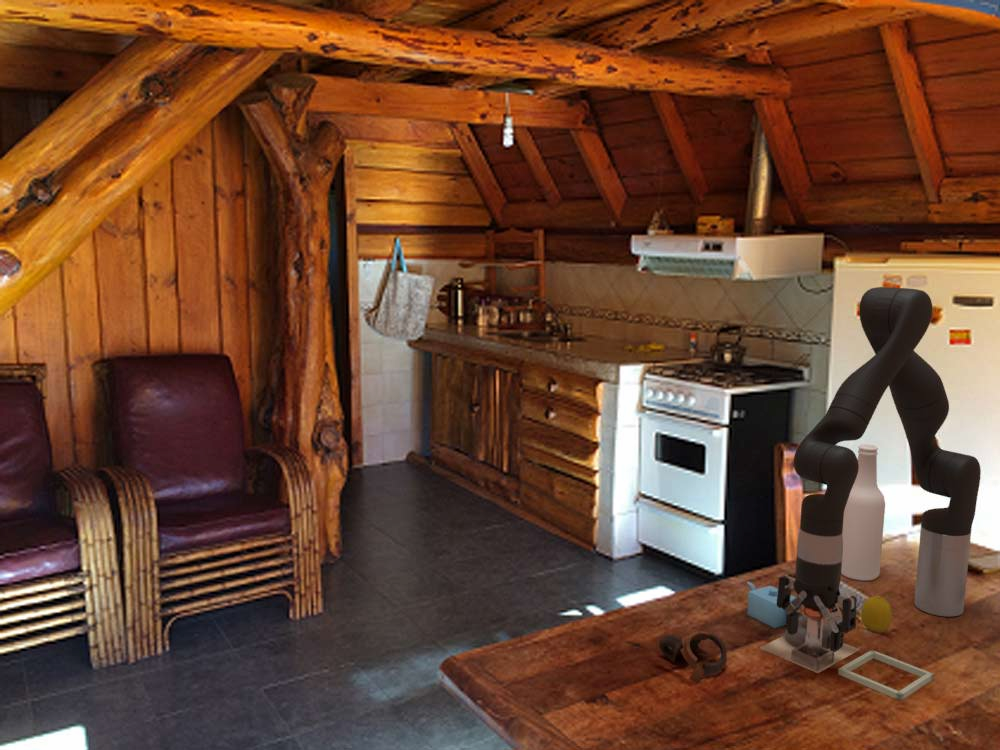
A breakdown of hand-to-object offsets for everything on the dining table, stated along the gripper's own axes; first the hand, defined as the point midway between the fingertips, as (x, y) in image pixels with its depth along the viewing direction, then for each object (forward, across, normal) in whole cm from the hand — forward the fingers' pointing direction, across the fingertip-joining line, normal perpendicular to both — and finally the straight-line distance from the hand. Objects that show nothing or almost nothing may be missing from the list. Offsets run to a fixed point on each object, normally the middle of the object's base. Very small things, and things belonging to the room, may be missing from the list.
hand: (813, 641), depth 159 cm
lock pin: (+4, 0, 0) cm, 4 cm away
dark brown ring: (+6, +13, +17) cm, 22 cm away
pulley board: (+5, +3, -4) cm, 7 cm away
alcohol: (+5, +18, -48) cm, 52 cm away
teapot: (+6, +16, -10) cm, 20 cm away
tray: (+5, -11, -5) cm, 13 cm away
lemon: (+5, 0, -22) cm, 23 cm away
